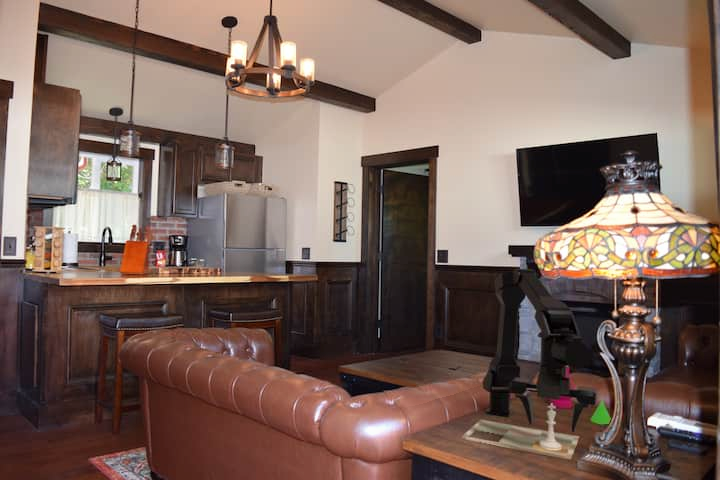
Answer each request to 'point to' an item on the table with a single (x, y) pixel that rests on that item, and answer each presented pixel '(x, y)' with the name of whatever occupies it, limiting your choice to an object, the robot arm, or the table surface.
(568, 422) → the table surface
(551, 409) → the chess piece
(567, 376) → the pepper mill
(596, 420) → the gemstone
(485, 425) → the game board
